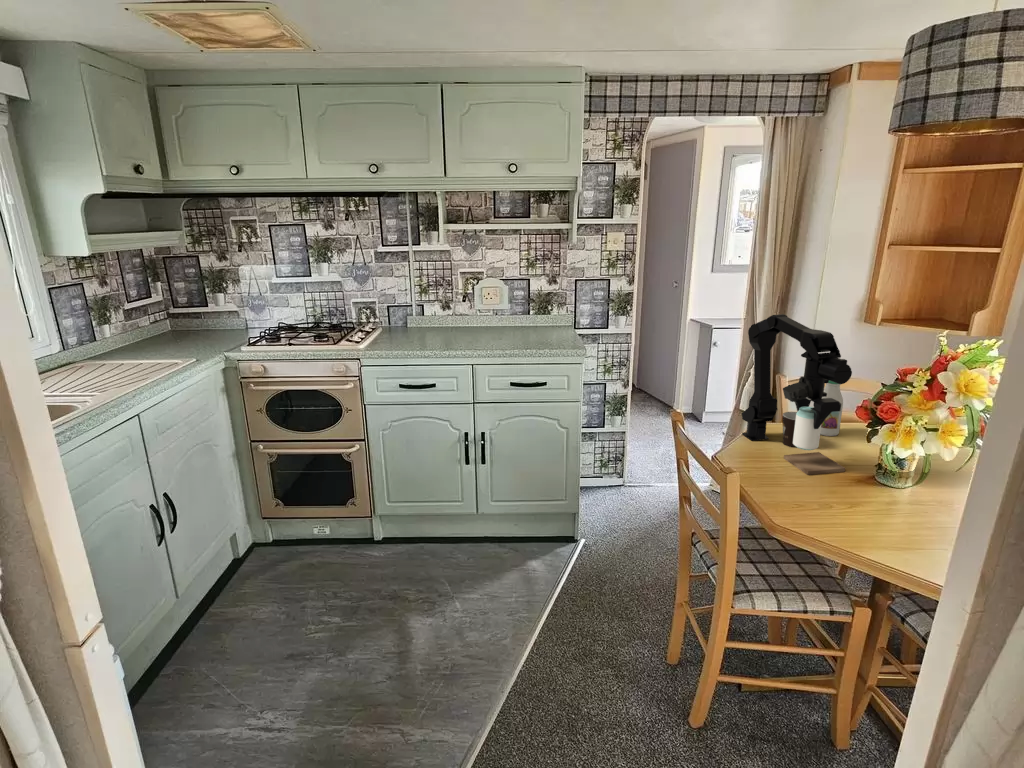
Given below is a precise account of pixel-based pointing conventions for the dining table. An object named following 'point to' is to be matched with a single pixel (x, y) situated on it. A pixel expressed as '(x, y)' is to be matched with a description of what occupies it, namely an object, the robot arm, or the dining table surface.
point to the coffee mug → (789, 428)
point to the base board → (814, 463)
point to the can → (806, 430)
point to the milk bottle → (833, 420)
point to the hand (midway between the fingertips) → (808, 424)
